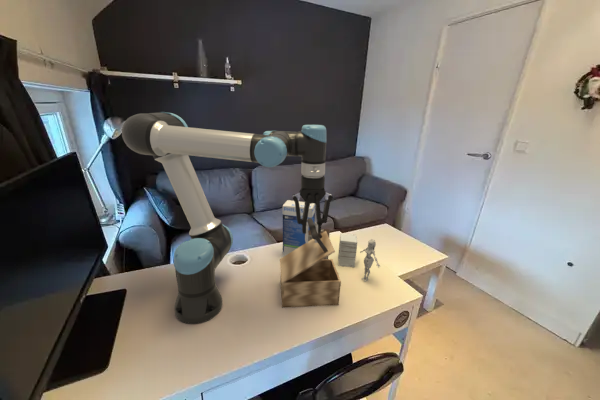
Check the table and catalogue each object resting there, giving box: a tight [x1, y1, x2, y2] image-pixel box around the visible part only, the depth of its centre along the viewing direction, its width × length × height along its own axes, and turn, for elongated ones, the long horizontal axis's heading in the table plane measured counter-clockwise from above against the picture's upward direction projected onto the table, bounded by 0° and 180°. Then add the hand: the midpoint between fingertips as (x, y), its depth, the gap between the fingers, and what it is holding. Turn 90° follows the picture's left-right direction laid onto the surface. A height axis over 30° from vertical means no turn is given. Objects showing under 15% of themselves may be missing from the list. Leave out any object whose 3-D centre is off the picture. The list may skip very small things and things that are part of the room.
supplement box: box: [337, 232, 358, 268], centre depth 121 cm, size 7×7×13 cm
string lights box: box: [282, 199, 316, 257], centre depth 122 cm, size 13×8×26 cm, turn 75°
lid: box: [279, 218, 336, 284], centre depth 96 cm, size 21×14×9 cm
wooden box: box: [279, 258, 342, 309], centre depth 101 cm, size 20×14×10 cm
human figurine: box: [359, 238, 381, 283], centre depth 109 cm, size 12×4×18 cm, turn 23°
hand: (311, 241), depth 95 cm, fingers open, 3 cm apart
